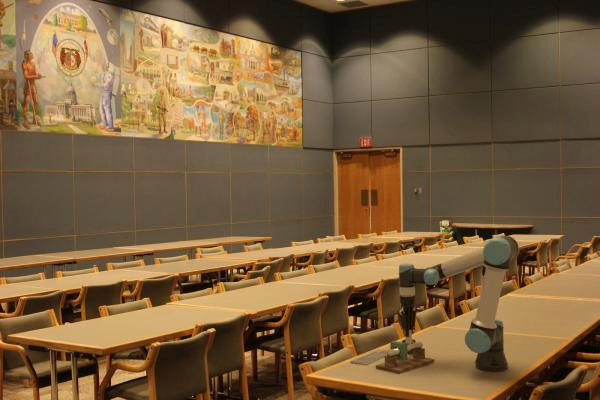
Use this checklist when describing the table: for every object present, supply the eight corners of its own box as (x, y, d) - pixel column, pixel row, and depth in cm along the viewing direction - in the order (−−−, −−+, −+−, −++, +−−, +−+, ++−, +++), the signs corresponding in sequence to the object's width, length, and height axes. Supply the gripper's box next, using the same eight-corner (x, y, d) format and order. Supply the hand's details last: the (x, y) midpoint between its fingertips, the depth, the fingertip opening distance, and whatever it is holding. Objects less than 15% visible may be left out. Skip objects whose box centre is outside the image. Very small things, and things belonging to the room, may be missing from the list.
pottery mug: (397, 355, 361) (397, 339, 365) (406, 359, 368) (405, 344, 372) (418, 351, 355) (417, 336, 359) (426, 356, 361) (425, 340, 365)
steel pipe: (417, 347, 347) (417, 340, 347) (422, 348, 345) (422, 341, 345) (386, 356, 331) (386, 349, 331) (392, 357, 328) (391, 350, 328)
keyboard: (368, 366, 339) (367, 362, 339) (350, 364, 345) (350, 360, 345) (395, 354, 363) (395, 350, 363) (378, 352, 369) (378, 348, 369)
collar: (394, 357, 338) (394, 340, 338) (407, 359, 333) (407, 343, 332) (390, 358, 336) (390, 342, 336) (403, 361, 331) (403, 344, 330)
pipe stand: (411, 357, 352) (411, 345, 352) (434, 362, 342) (433, 349, 342) (375, 368, 333) (375, 355, 333) (398, 373, 323) (398, 360, 323)
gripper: (409, 292, 346) (410, 339, 346) (393, 296, 337) (394, 344, 337) (421, 294, 341) (423, 341, 341) (405, 297, 332) (407, 346, 332)
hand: (408, 343), depth 339 cm, fingers closed
